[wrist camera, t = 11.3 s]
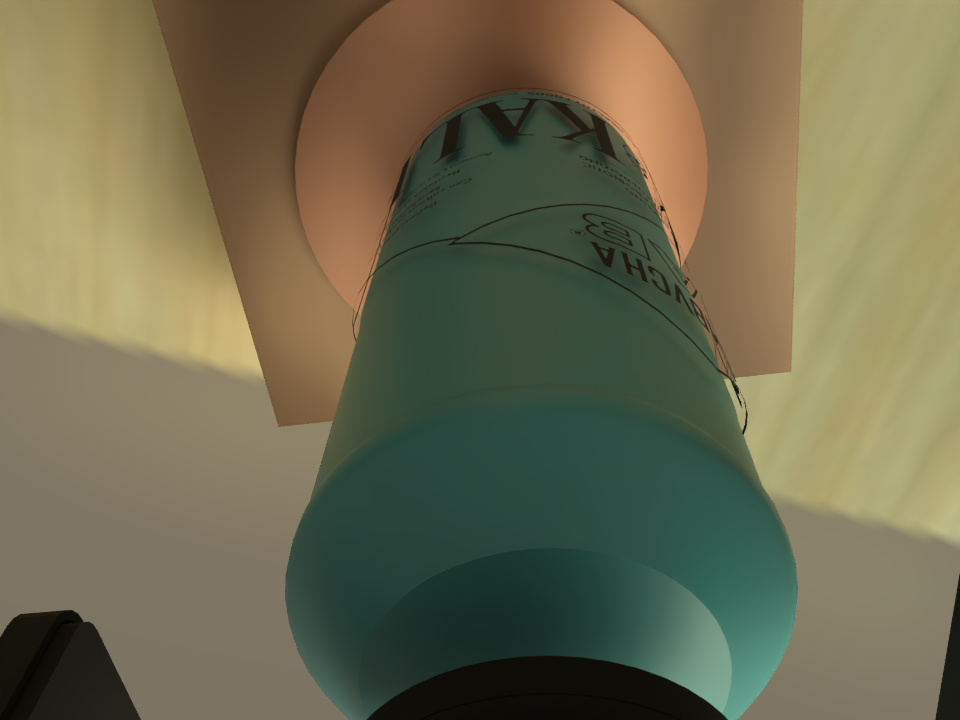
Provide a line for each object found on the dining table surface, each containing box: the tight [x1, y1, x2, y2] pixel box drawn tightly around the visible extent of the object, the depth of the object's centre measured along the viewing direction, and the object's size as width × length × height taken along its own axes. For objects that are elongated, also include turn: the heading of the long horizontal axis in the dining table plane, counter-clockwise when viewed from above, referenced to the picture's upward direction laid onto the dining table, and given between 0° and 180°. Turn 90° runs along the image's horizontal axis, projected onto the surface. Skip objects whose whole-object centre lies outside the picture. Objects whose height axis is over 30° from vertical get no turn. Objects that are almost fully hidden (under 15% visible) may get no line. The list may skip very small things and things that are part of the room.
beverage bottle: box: [285, 88, 798, 720], centre depth 16 cm, size 6×7×20 cm
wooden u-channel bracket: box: [153, 0, 803, 427], centre depth 28 cm, size 16×14×9 cm
